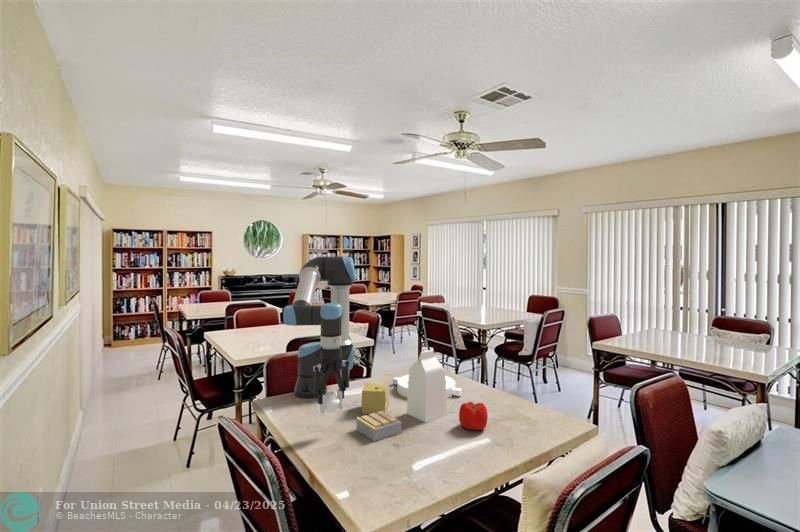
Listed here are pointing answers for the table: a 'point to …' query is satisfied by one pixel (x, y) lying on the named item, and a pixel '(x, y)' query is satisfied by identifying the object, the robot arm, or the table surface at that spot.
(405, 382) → the white circle with bar
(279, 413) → the table surface
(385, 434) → the dock
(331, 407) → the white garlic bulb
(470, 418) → the red bell pepper
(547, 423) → the table surface
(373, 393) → the cheese
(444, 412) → the milk
